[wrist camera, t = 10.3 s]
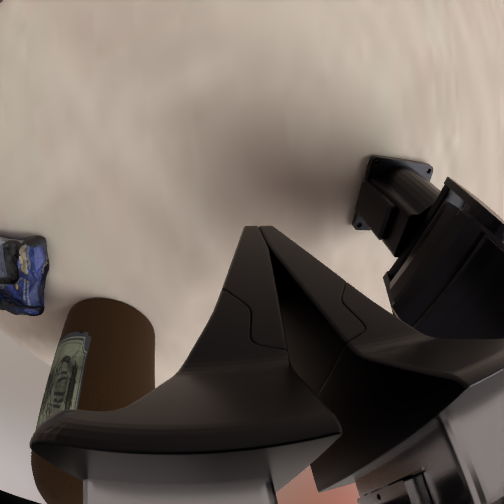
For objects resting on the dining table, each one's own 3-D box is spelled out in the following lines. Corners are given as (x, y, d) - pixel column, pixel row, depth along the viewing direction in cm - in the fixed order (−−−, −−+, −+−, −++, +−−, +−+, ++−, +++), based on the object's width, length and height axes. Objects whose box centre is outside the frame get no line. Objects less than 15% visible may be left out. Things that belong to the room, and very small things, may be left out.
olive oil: (182, 332, 30) (207, 589, 10) (121, 367, 33) (123, 572, 13) (97, 273, 24) (67, 595, 4) (46, 323, 27) (14, 556, 7)
